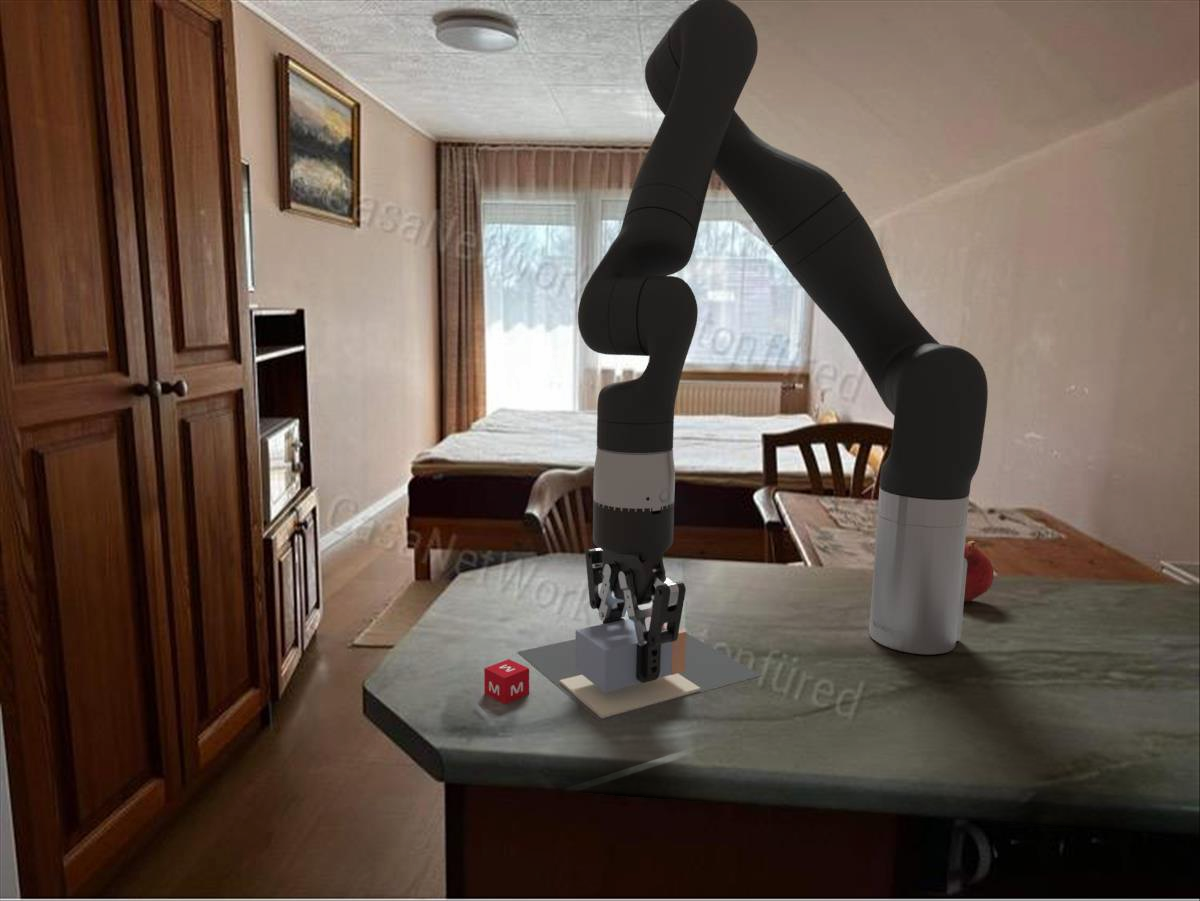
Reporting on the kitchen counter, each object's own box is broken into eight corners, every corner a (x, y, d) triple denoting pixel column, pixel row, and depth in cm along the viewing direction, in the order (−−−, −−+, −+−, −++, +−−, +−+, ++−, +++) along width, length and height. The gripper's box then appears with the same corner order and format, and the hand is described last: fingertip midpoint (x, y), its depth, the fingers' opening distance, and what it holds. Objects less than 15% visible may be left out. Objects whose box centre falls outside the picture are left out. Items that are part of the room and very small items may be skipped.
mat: (663, 623, 95) (663, 617, 95) (761, 679, 81) (761, 672, 81) (516, 655, 86) (516, 649, 86) (598, 725, 71) (598, 717, 71)
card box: (604, 692, 73) (605, 650, 73) (575, 669, 78) (575, 629, 77) (685, 671, 78) (686, 631, 77) (652, 650, 82) (653, 613, 82)
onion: (987, 612, 101) (993, 550, 99) (938, 603, 104) (943, 543, 102) (993, 599, 106) (999, 539, 104) (946, 590, 109) (951, 533, 107)
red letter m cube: (484, 698, 76) (484, 668, 76) (509, 687, 79) (508, 658, 78) (504, 708, 74) (504, 678, 74) (529, 698, 77) (529, 668, 76)
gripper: (561, 485, 79) (560, 649, 82) (643, 517, 67) (638, 708, 70) (626, 478, 83) (623, 635, 86) (714, 507, 71) (707, 689, 74)
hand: (630, 667), depth 78 cm, fingers closed on card box, 5 cm apart
